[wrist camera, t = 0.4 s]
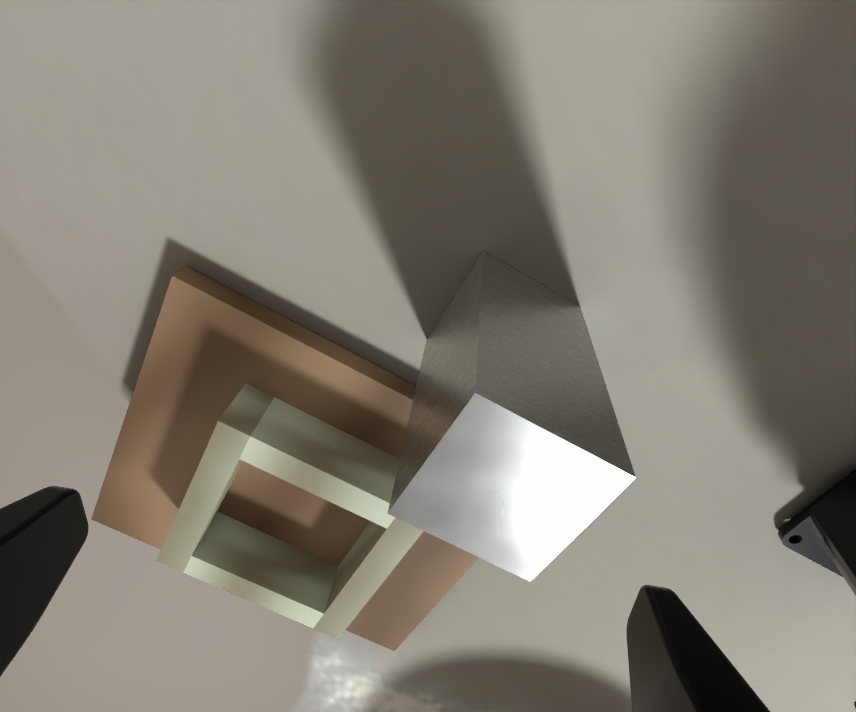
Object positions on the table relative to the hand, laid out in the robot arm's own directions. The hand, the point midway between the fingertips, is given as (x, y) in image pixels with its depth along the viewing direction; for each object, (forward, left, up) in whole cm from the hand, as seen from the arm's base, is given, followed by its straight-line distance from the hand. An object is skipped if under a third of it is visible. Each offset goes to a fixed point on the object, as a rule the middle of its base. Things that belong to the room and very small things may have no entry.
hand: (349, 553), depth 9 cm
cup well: (0, +11, -13) cm, 17 cm away
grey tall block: (-3, 0, -13) cm, 13 cm away
